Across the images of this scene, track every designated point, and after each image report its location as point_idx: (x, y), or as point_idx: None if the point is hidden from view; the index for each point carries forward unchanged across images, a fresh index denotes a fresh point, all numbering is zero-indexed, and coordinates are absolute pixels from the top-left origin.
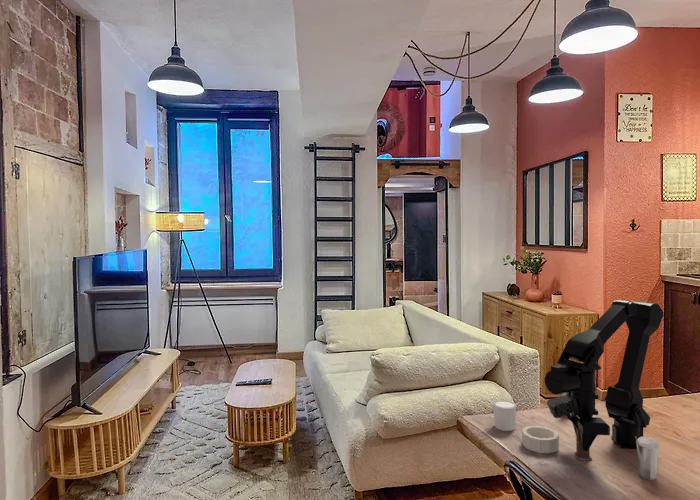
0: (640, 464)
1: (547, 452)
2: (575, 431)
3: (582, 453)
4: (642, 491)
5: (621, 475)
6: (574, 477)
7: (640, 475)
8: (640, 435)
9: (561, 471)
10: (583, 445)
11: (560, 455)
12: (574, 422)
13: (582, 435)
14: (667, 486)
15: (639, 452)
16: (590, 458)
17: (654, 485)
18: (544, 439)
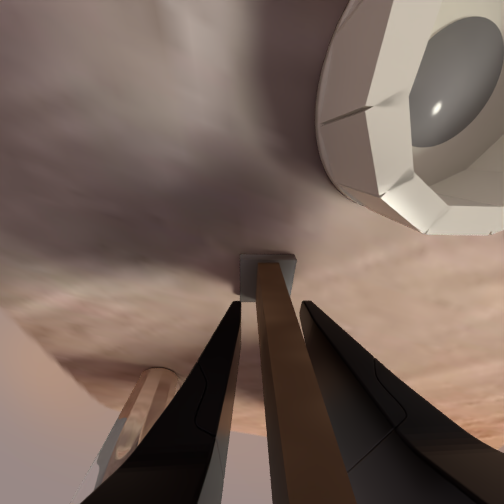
0: (129, 411)
1: (316, 107)
2: (350, 360)
3: (257, 285)
4: (60, 350)
5: (146, 336)
6: (40, 174)
7: (153, 370)
8: None
9: (82, 118)
10: (219, 324)
11: (286, 187)
12: (423, 475)
13: (161, 415)
14: (122, 390)
15: (98, 475)
16: (240, 296)
17: (115, 375)
18: (395, 33)
